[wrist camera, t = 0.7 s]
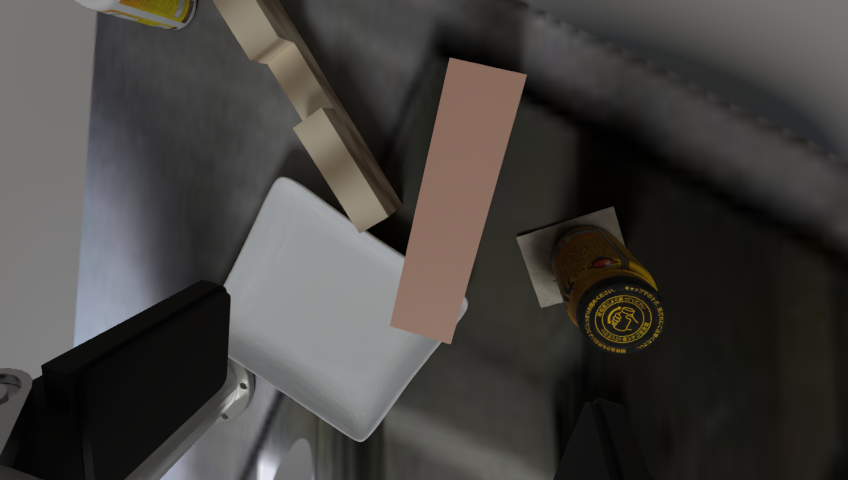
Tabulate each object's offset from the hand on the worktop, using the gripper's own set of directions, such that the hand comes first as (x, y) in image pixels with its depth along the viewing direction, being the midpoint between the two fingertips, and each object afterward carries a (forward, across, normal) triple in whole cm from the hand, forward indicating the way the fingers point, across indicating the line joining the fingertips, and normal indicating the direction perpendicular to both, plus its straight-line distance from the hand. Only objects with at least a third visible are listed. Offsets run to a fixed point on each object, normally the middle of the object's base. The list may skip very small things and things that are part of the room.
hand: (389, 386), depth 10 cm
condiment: (+28, -10, +4) cm, 30 cm away
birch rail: (+28, +16, -6) cm, 33 cm away
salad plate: (+28, +12, +16) cm, 34 cm away
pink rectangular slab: (+28, +1, -1) cm, 28 cm away
